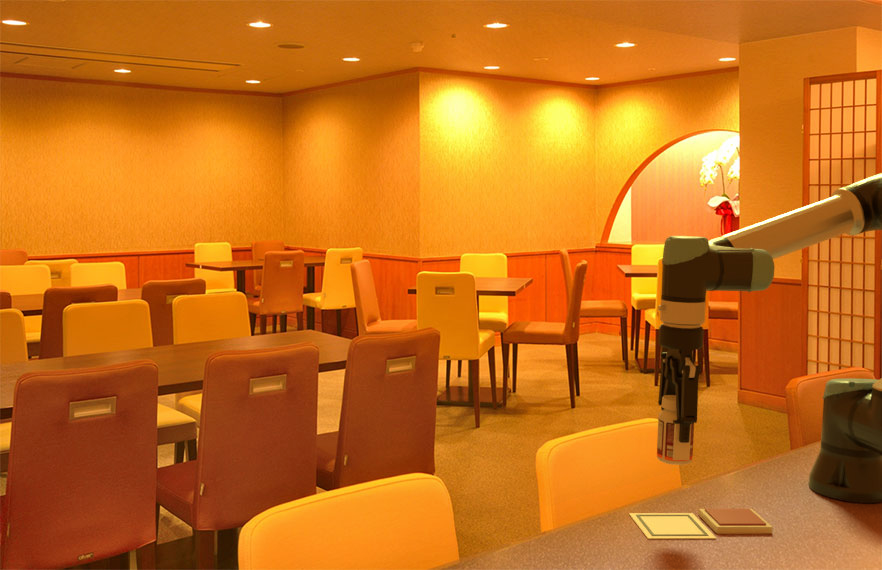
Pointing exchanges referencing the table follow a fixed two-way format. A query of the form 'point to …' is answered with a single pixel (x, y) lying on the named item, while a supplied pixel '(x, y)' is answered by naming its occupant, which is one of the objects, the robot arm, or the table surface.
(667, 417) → the pill bottle
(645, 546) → the table surface
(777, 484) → the table surface
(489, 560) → the table surface
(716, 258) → the robot arm
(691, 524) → the paper sheet
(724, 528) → the pad
